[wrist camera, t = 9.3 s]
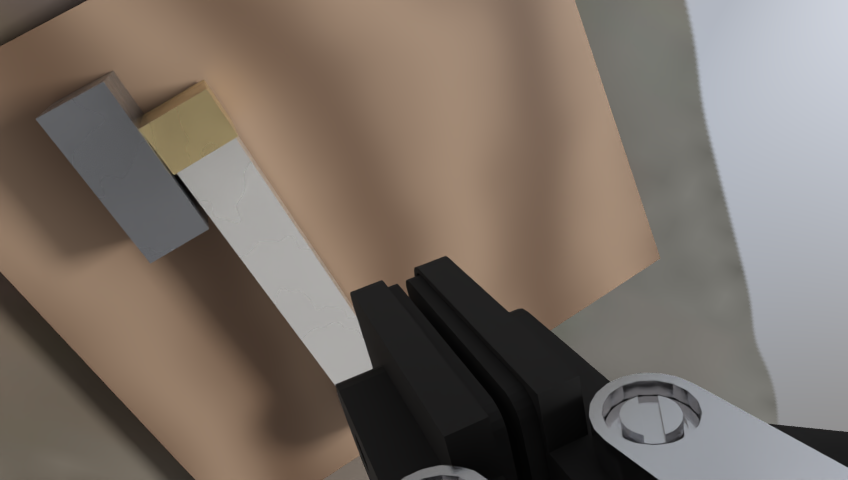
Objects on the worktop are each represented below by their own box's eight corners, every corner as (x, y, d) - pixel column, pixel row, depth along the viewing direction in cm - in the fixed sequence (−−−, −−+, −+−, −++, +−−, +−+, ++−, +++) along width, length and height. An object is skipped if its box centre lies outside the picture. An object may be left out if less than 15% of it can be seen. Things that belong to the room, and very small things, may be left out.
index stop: (155, 218, 24) (150, 263, 20) (62, 95, 21) (35, 118, 17) (204, 189, 24) (208, 228, 20) (117, 65, 22) (103, 81, 18)
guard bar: (423, 386, 28) (449, 428, 25) (360, 429, 28) (379, 476, 25) (217, 70, 21) (223, 82, 18) (129, 122, 21) (121, 142, 18)
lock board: (240, 506, 29) (243, 531, 28) (-120, 112, 20) (-142, 120, 19) (640, 247, 32) (660, 258, 30) (482, -206, 23) (501, -218, 21)
